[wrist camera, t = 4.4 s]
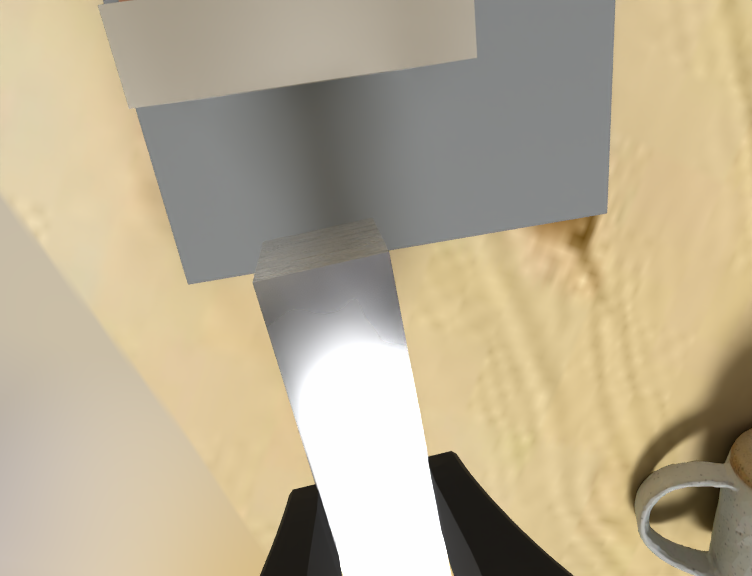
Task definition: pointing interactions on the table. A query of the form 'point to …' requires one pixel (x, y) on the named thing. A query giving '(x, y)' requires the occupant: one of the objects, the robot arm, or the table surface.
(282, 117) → the mat
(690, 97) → the table surface
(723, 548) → the ceramic mug
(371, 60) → the tile
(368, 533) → the bar
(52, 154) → the table surface
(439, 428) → the table surface
